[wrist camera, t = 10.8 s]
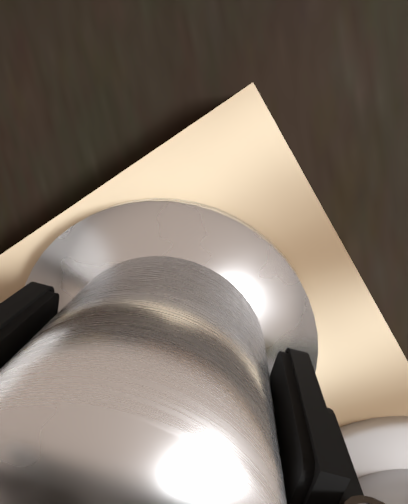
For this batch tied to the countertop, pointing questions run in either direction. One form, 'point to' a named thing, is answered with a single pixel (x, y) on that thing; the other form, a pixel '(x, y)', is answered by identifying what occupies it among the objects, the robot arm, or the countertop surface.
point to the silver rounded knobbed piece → (153, 363)
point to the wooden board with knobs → (297, 254)
